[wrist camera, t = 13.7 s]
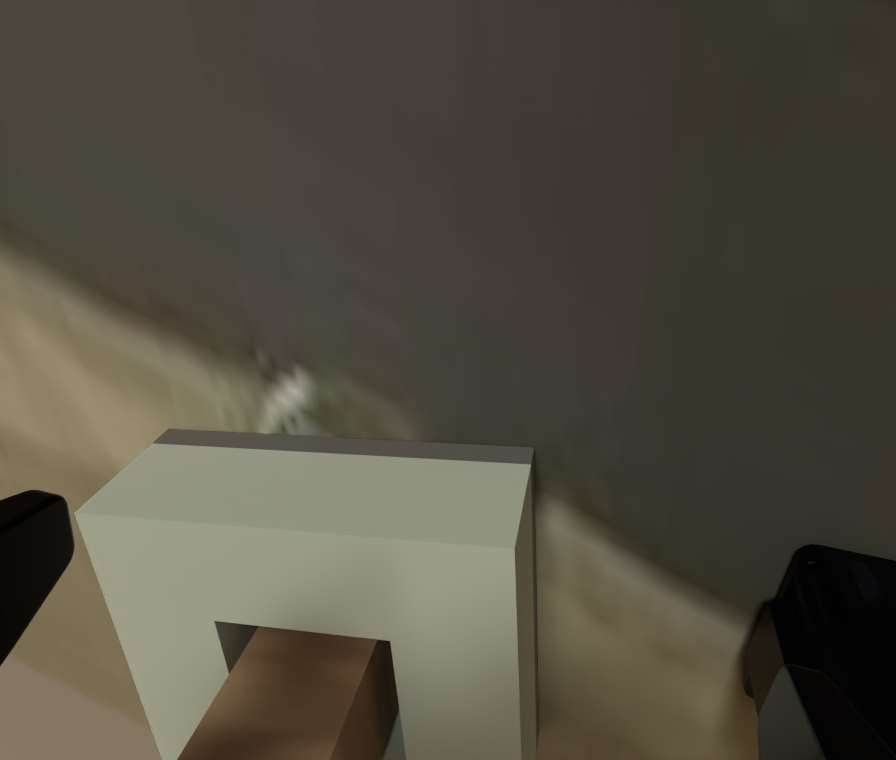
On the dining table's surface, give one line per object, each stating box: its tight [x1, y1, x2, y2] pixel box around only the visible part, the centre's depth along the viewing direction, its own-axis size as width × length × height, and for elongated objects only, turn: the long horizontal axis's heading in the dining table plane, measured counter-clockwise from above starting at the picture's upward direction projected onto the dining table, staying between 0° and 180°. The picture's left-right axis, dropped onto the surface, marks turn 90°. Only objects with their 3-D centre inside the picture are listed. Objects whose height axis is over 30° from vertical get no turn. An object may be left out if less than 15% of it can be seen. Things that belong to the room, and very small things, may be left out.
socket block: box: [74, 429, 539, 760], centre depth 24 cm, size 13×13×5 cm
